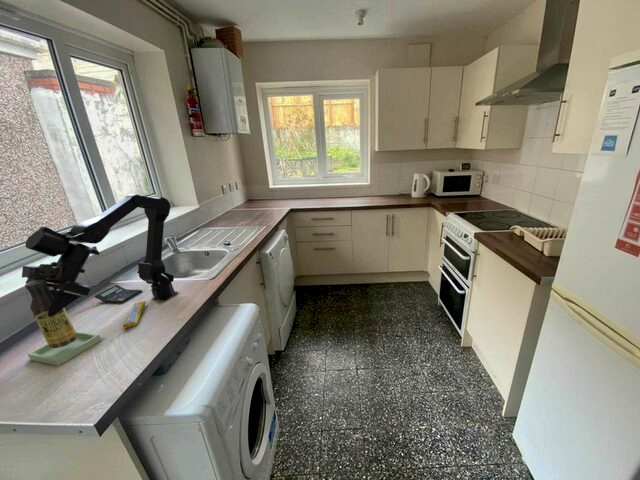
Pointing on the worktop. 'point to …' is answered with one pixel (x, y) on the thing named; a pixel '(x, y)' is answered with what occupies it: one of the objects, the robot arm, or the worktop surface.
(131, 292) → the calculator
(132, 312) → the candy bar
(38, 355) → the tray
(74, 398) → the worktop surface
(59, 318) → the sauce bottle
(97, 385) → the worktop surface
